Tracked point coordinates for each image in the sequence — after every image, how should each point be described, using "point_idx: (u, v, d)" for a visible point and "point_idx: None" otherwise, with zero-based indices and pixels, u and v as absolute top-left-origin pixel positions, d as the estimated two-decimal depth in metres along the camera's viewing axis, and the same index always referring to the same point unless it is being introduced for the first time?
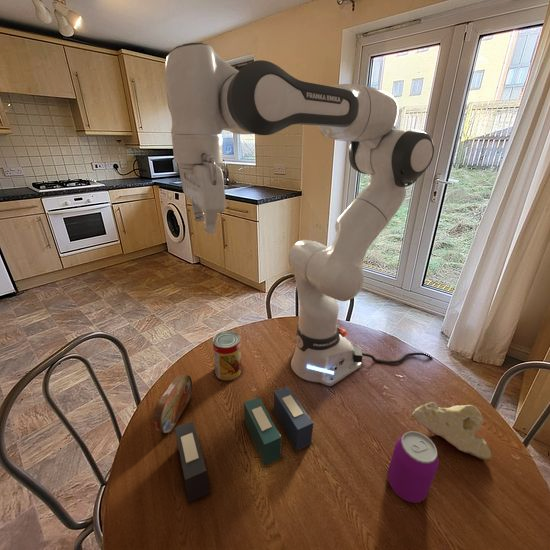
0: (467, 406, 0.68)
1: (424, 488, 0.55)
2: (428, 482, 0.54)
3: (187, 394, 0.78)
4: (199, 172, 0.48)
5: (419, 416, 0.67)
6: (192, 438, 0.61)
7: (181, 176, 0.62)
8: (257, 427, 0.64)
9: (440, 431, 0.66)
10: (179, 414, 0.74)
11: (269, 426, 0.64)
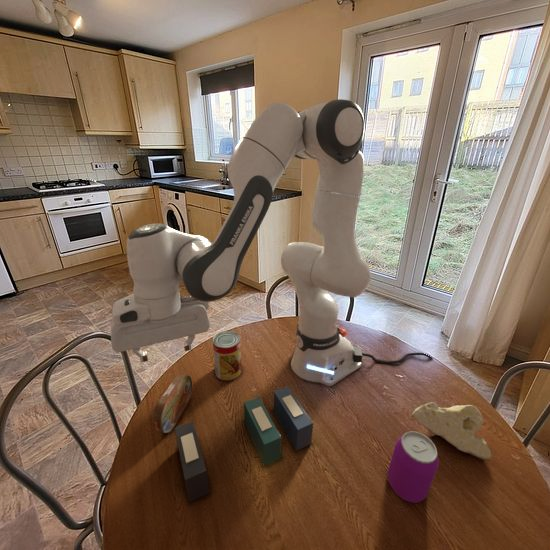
0: (467, 406, 0.68)
1: (424, 488, 0.55)
2: (428, 482, 0.54)
3: (187, 394, 0.78)
4: (197, 309, 0.64)
5: (419, 416, 0.67)
6: (192, 438, 0.61)
7: (118, 336, 0.58)
8: (257, 427, 0.64)
9: (440, 431, 0.66)
10: (179, 414, 0.74)
11: (269, 426, 0.64)
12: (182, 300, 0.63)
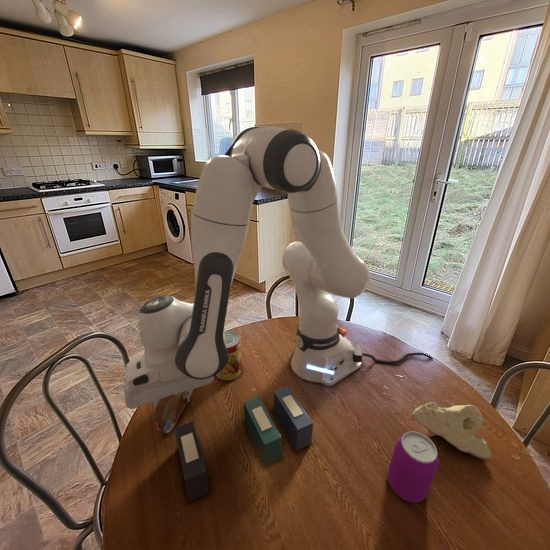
0: (467, 406, 0.68)
1: (424, 488, 0.55)
2: (428, 482, 0.54)
3: None
4: None
5: (419, 416, 0.67)
6: (192, 438, 0.61)
7: (131, 396, 0.65)
8: (257, 427, 0.64)
9: (440, 431, 0.66)
10: (179, 414, 0.74)
11: (269, 426, 0.64)
12: None
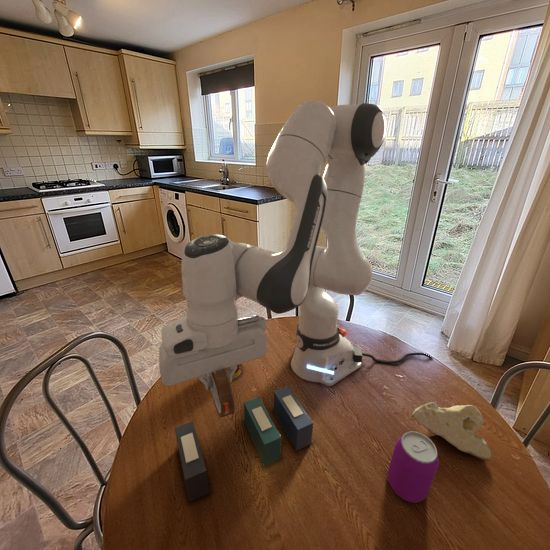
0: (467, 406, 0.68)
1: (424, 488, 0.55)
2: (428, 482, 0.54)
3: None
4: (256, 333, 0.55)
5: (419, 416, 0.67)
6: (192, 438, 0.61)
7: (169, 368, 0.49)
8: (257, 427, 0.64)
9: (440, 431, 0.66)
10: None
11: (269, 426, 0.64)
12: (239, 323, 0.54)
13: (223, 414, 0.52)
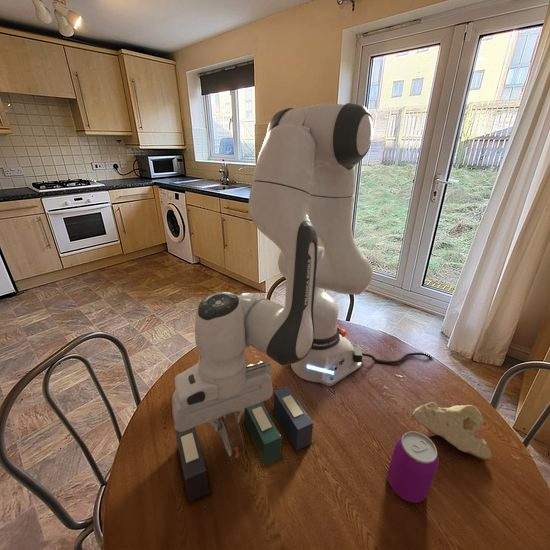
0: (467, 406, 0.68)
1: (424, 488, 0.55)
2: (428, 482, 0.54)
3: None
4: (263, 379, 0.59)
5: (419, 416, 0.67)
6: (192, 438, 0.61)
7: (182, 417, 0.53)
8: (257, 427, 0.64)
9: (440, 431, 0.66)
10: None
11: (269, 426, 0.64)
12: (247, 370, 0.58)
13: (233, 458, 0.55)
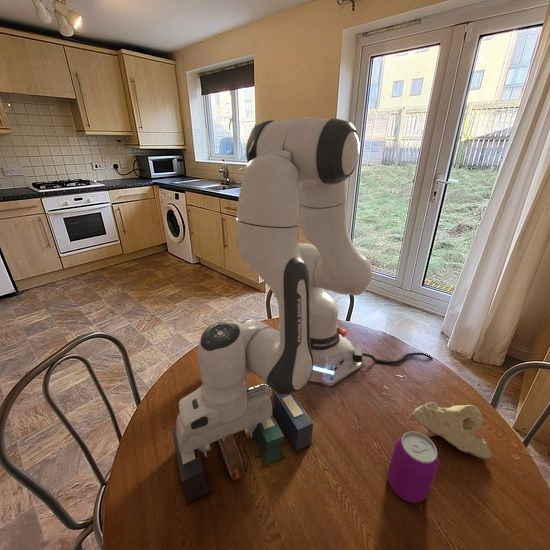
0: (467, 406, 0.68)
1: (424, 488, 0.55)
2: (428, 482, 0.54)
3: None
4: (263, 401, 0.61)
5: (419, 416, 0.67)
6: None
7: (186, 440, 0.55)
8: (260, 425, 0.64)
9: (440, 431, 0.66)
10: None
11: (272, 425, 0.64)
12: (247, 393, 0.60)
13: (234, 479, 0.58)
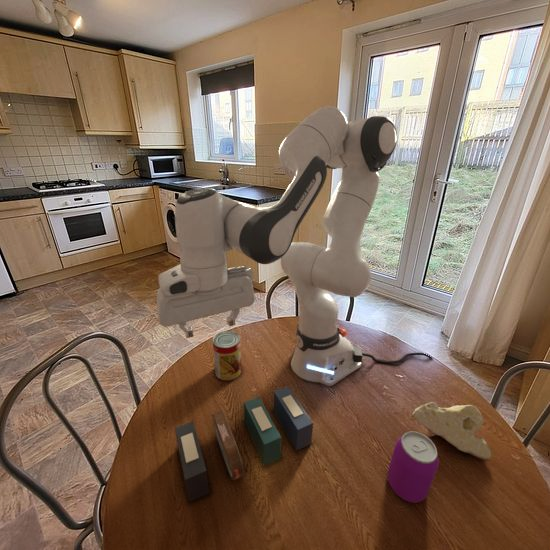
0: (467, 406, 0.68)
1: (424, 488, 0.55)
2: (428, 482, 0.54)
3: None
4: (244, 281, 0.61)
5: (419, 416, 0.67)
6: (192, 438, 0.61)
7: (166, 309, 0.55)
8: (257, 427, 0.64)
9: (440, 431, 0.66)
10: None
11: (269, 426, 0.64)
12: (228, 271, 0.60)
13: (234, 479, 0.58)
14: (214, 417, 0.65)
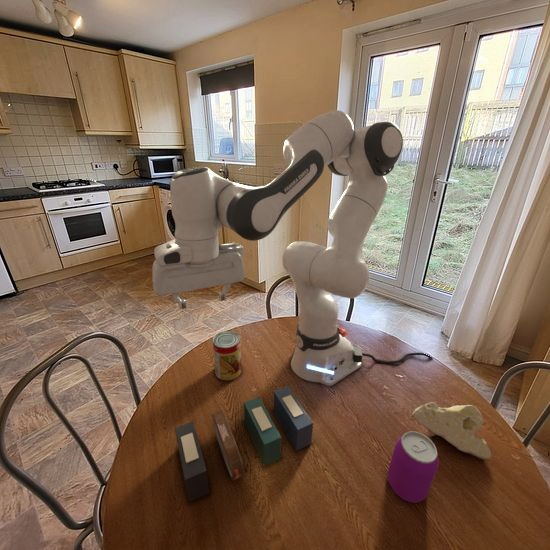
0: (467, 406, 0.68)
1: (424, 488, 0.55)
2: (428, 482, 0.54)
3: None
4: (234, 257, 0.65)
5: (419, 416, 0.67)
6: (192, 438, 0.61)
7: (160, 278, 0.60)
8: (257, 427, 0.64)
9: (440, 431, 0.66)
10: None
11: (269, 426, 0.64)
12: (220, 247, 0.64)
13: (234, 479, 0.58)
14: (214, 417, 0.65)
